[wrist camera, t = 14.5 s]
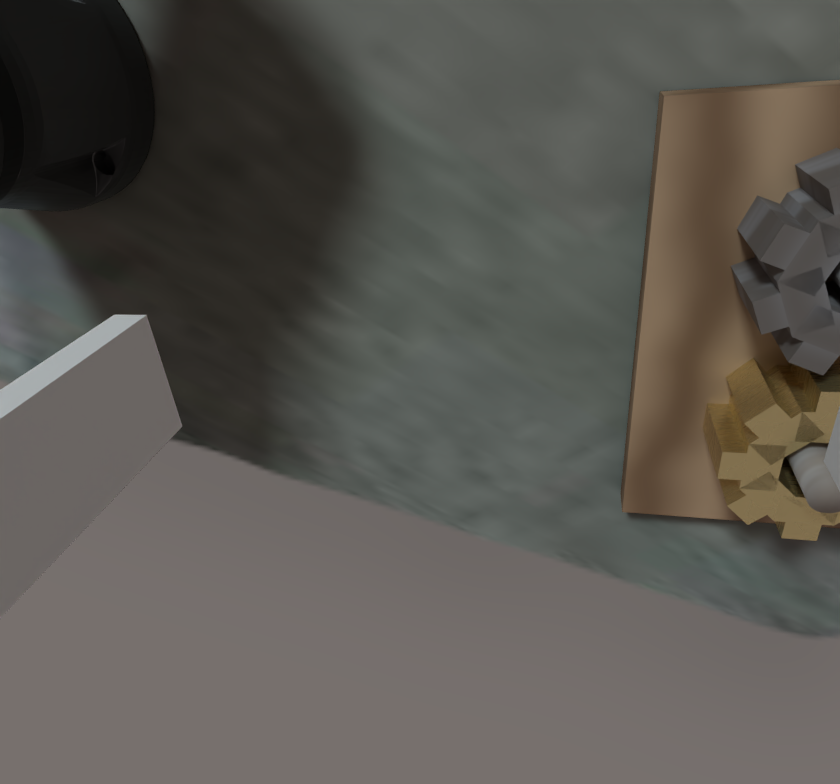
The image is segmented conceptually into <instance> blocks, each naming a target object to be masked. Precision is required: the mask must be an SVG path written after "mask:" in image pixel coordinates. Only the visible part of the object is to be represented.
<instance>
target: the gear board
mask: <svg viewBox="0 0 840 784" xmlns="http://www.w3.org/2000/svg"><path fill="white" fill-rule="evenodd" d="M752 358H754V359H755V360H756V361H757V362H758V363H759V364H760V365H761V366H762V367H763V368H764V369H765V370H766V371H768V370H770V369H771V368H773V367H774V366H776V365H788V363H792V364H794V365H797V366H800V367H802V368H805V369H807V370H810V371H813V372H815V373H818V374H820V375H824V374H825V373H826V372H827V370H828V369H829V368H830V367H831V365H832V364H833V363H834V362H835V360H836V359H838V360H839V362H840V80H829V81H814V82H799V83H783V84H768V85H753V86H737V87H722V88H706V89H691V90H676V91H660V94H659V104H658V115H657V125H656V135H655V146H654V156H653V166H652V176H651V187H650V197H649V207H648V218H647V228H646V238H645V248H644V259H643V269H642V279H641V290H640V300H639V310H638V320H637V331H636V341H635V351H634V362H633V372H632V382H631V392H630V403H629V413H628V423H627V433H626V444H625V454H624V464H623V475H622V485H621V503H622V512H629V513H643V514H656V515H669V516H683V517H696V518H709V519H723V520H736V521H743V520H742V519H741V518H740V517H738V516H737V515H736V514H735V513H734V512H733V511H732V510H731V509H730V508H729V507H728V506H727V504H726V501H725V497H724V494H723V491H722V487H721V484H720V480H719V479H717V476H716V472H715V469H714V466H713V462H712V459H711V455H710V452H709V449H708V445H707V442H706V438H705V435H704V431H703V423H704V417H705V411H706V405H707V403H714V404H729V399H730V395H732V391H731V389H730V386H729V384H728V381H727V379H726V376H727V375H729V374H730V373H732V372H733V371H735V370H736V369H737V368H739V367H740V366H742V365H743V364H745V363H746V362H748V361H749V360H751V359H752ZM828 444H829V443H815V442H810V443H809V444H807V445H805V446H803V447H802V448H800V449H798V450H796V451H795V452H793V453H791V454H789V455H788V456H786V457H787V459H788V461H789V464H790V466H791V468H792V470H793V472H794V474H795V477H796V479H797V481H798V483H799V485H800V487H801V490H802V492H803V494H804V496H805V498H806V500H807V503H808V504H809V506H810V507H811V508H812V509H814V510H816V511H818V512H822V513H836V512H840V491H839V489H838V487H837V485H836V483H835V481H834V480H833V478H832V476H831V474H830V472H829V470H828V468H827V467H826V465H825V463H824V458H825V455H826V451H827V448H828ZM755 522H763V523H775V521H773V520H772V519H771V518H770V517H769V516H768V515H766V516H764V517H762V518H760V519H758V520H756V521H755ZM821 527H829V528H840V523H838V524H836V525H834V526H832V525H821Z"/></svg>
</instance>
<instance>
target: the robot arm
mask: <svg viewBox="0 0 840 784" xmlns="http://www.w3.org/2000/svg"><path fill="white" fill-rule="evenodd" d="M153 124H154V100H153V91H152V85H151V79H150V75H149V71H148V67H147V64H146V60H145V57H144V54H143V51H142V49H141V46H140V44H139V41H138V39H137V36H136V34H135V32H134V30H133V28H132V26H131V24H130V22H129V20H128V19H127V17H126V15H125V13H124V12H123V10H122V8H121V7H120V5H119V4H118V2H117V1H116V0H0V208H9V209H25V210H41V211H68V210H74V209H79V208H83V207H86V206H89V205H91V204H94V203H96V202H99V201H101V200H104V199H106V198H109V197H111V196H113V195H115V194H116V193H118V192H119V191H121V190H122V189H123V188H125V187H126V186H127V185H128V184H129V183H130V182H131V181H132V180H133V179H134V177H135V176H136V175H137V173H138V172H139V170H140V169H141V167H142V165H143V163H144V161H145V158H146V156H147V153H148V150H149V147H150V143H151V139H152V133H153ZM181 427H182V423H181V420H180V417H179V414H178V411H177V408H176V405H175V402H174V398H173V395H172V392H171V389H170V386H169V383H168V380H167V377H166V374H165V371H164V367H163V364H162V361H161V358H160V355H159V352H158V349H157V346H156V343H155V340H154V336H153V333H152V330H151V327H150V324H149V321H148V318H147V315H113V316H112V317H110V318H109V319H107V320H106V321H104V322H102V323H101V324H99V325H98V326H96V327H95V328H93V329H92V330H90V331H89V332H87V333H86V334H84V335H83V336H81V337H80V338H78V339H77V340H75V341H74V342H72V343H71V344H69V345H68V346H66V347H65V348H63V349H62V350H60V351H59V352H57V353H56V354H54V355H53V356H51V357H49V358H48V359H46V360H45V361H43V362H42V363H40V364H39V365H37V366H36V367H34V368H33V369H31V370H30V371H28V372H27V373H25V374H24V375H22V376H21V377H19V378H18V379H16V380H15V381H13V382H12V383H10V384H9V385H7V386H6V387H4V388H3V389H1V390H0V618H1V617H2V616H3V615H4V614H5V613H6V612H7V611H8V610H9V609H10V608H11V607H12V606H13V605H14V604H15V602H16V601H17V600H18V599H19V598H20V597H21V596H22V595H23V594H24V593H25V592H26V591H27V590H28V589H29V588H30V587H31V586H32V585H33V583H34V582H35V581H36V580H37V579H38V578H39V577H40V576H41V575H42V574H43V573H44V572H45V571H46V570H47V568H48V567H50V566H51V564H52V563H53V562H54V561H55V560H56V559H57V558H58V557H59V556H60V555H61V554H62V553H63V552H64V551H65V550H66V549H67V548H68V547H69V546H70V544H71V543H72V542H73V541H74V540H75V539H76V538H77V537H78V536H79V535H80V534H81V533H82V532H83V531H84V529H86V528H87V527H88V525H89V524H90V523H91V522H92V521H93V520H94V519H95V518H96V517H97V516H98V515H99V514H100V513H101V512H102V511H103V510H104V509H105V508H106V506H107V505H108V504H109V503H110V502H111V501H112V500H113V499H114V498H115V497H116V496H117V495H118V494H119V493H120V492H121V491H122V490H123V489H124V488H125V486H126V485H127V484H128V483H129V482H130V481H131V480H132V479H133V478H134V477H135V476H136V475H137V474H138V473H139V472H140V471H141V470H142V469H143V467H144V466H145V465H146V464H147V463H148V462H149V461H150V460H151V459H152V458H153V457H154V456H155V455H156V454H157V453H158V452H159V451H160V450H161V448H162V447H163V446H164V445H165V444H166V443H167V442H168V441H169V440H170V439H171V438H172V437H173V436H174V435H175V434H176V433H177V432H178V431H179V429H180V428H181ZM824 463H825V465H826V467H827V468H828V470H829V472H830V474H831V476H832V478H833V480H834V481H835V483H836V485H837V487H838V489H839V491H840V407H839V410H838V413H837V417H836V420H835V424H834V427H833V431H832V434H831V437H830V441H829V444H828V448H827V451H826V455H825V458H824Z"/></svg>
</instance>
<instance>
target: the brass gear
mask: <svg viewBox="0 0 840 784" xmlns="http://www.w3.org/2000/svg"><path fill="white" fill-rule="evenodd" d="M726 379H727V381H728V384H729V386H730V389H731V391H732V395H730V399H729V404H714V403H707V405H706V411H705V417H704V423H703V431H704V435H705V438H706V442H707V445H708V449H709V452H710V455H711V459H712V462H713V466H714V469H715V472H716V476H717V479H719V480H720V484H721V487H722V491H723V494H724V497H725V501H726V504H727V506H728V507H729V508H730V509H731V510H732V511H733V512H734V513H735V514H736V515H737V516H738V517H740V518H741V519H742V520H743V521H744V522H745V523H746V524H747V525H749V524H751V523H753V522H755V521H756V520H758V519H760V518H762V517H764V516H766V515H768V516H769V517H770V518H771V519H772V520H773V521H775V523H776V526H777V528H778V531H779V534H780V536H781V538H786V539H798V540H810V541H817V538H818V535H819V532H820V529H821V525H832V526H834V525H836V524H838V523H840V512H836V513H822V512H818V511H816V510H814V509H812V508H811V507H810V506H809V504H808V503H807V500H806V498H805V496H804V494H803V492H802V490H801V487H800V485H799V483H798V481H797V479H796V477H795V474H794V472H793V470H792V468H791V466H790V464H789V461H788V459H787V457H786V456H788V455H789V454H791V453H793V452H795V451H796V450H798V449H800V448H802V447H803V446H805V445H807V444H809V443H810V442H815V443H829V441H830V437H831V434H832V431H833V427H834V424H835V420H836V417H837V413H838V410H839V407H840V362H839V360H838V359H836V360H835V362H834V363H833V364H832V365H831V367H830V368H829V369H828V370H827V372H826V373H825V374H824V375H820V374H818V373H815V372H813V371H810V370H807V369H805V368H802V367H800V366H797V365H794V364H792V363H788V365H776V366H774V367H773V368H771V369H770V370H768V371H766V370H765V369H764V368H763V367H762V366H761V365H760V364H759V363H758V362H757V361H756V360H755V359H754V358H752V359H751V360H749V361H748V362H746V363H745V364H743V365H742V366H740V367H739V368H737V369H736V370H735V371H733V372H732V373H730V374H729V375H727V376H726Z"/></svg>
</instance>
